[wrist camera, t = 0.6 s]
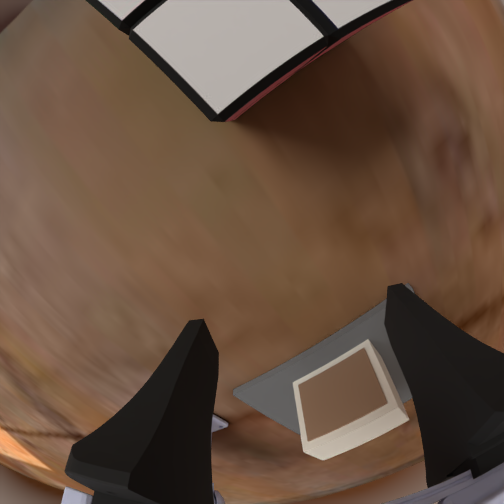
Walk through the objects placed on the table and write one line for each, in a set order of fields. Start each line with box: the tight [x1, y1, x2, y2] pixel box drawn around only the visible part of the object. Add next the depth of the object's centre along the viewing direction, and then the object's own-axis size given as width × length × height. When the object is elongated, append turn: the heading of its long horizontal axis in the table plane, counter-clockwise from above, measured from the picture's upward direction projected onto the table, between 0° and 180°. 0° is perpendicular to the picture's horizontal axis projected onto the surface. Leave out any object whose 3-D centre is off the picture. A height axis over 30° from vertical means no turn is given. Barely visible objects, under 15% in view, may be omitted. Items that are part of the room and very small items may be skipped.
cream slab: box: [293, 339, 409, 460], centre depth 23 cm, size 8×4×8 cm, turn 129°
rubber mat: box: [233, 283, 414, 435], centre depth 29 cm, size 20×18×1 cm
